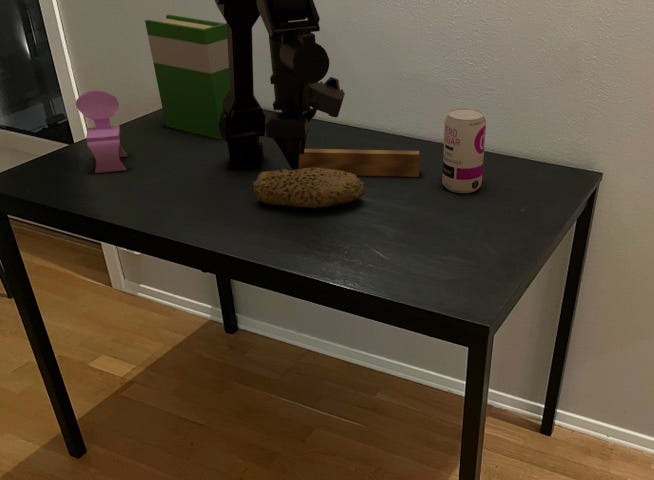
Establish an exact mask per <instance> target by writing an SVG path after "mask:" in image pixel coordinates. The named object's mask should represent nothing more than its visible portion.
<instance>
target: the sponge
mask: <svg viewBox="0 0 654 480" xmlns="http://www.w3.org/2000/svg"><path fill="white" fill-rule="evenodd" d="M252 185H253V193H254V195H255V197H257V200H258V201H259V202H262V203H265V204H269V205H276V206H288V207H296V208H308V209H317V208H329V207H332V206H337V205H342V204H347V203H351V202H352V201H354V200H357V199H359V198H362V197H363V196H364V195H365V193H366V192H365V188H364V185H365V182H364V181H362V180H361V179H360V177H359V176H356V175H355V174H353V173H347V172H344V171H339V170H332V169H326V168H315V167H312V168H302V169H294V170H290V169H289V170H288V169H287V168H280V169H278V170H267V171H262V172H260V173H259V174H258V175H257V178H256V181H253V183H252Z"/></svg>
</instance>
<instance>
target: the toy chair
mask: <svg viewBox="0 0 654 480" xmlns="http://www.w3.org/2000/svg"><path fill="white" fill-rule="evenodd" d="M119 104H120V103H119V100H118V99H117V97H116V96H115V95H113V94H112V93H110V92H107V91H104V90H98V89H93V90H89V91H86V92H84V93H83V94H81V95H80V96H78V97H77V99H75V106H76V109H77V110H78V111H79V113H81V114H82V115H83V117H85V118H87V119H90V120H93V122H94V124H95V125H94V126H95V127H87V131H86V136H85V140H86V145H87V147H88V148H89V150H90V151H91V153H92V155H93V157H94V159H95V170H94V173H95V174H97V173H99V174H100V173H109V172H110V173H111V172H120V171H126V170H127V168H126V167H125V165H124V164H123V162H122V160H121V159H120V158H126V157H128V154H127V153H126V152H125V150H124V149H123V148H122V145H121V135H122V130H121V125H111V122H110V119H111V118H113V116H115V114H116V112H117V111H118V109H119V106H120V105H119Z"/></svg>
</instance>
